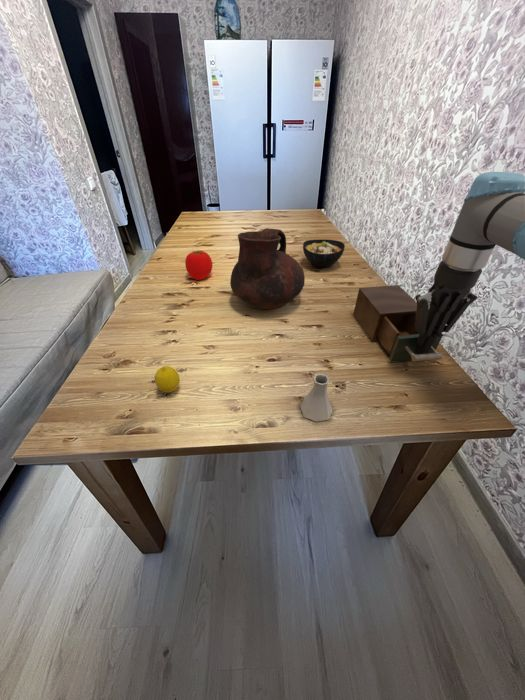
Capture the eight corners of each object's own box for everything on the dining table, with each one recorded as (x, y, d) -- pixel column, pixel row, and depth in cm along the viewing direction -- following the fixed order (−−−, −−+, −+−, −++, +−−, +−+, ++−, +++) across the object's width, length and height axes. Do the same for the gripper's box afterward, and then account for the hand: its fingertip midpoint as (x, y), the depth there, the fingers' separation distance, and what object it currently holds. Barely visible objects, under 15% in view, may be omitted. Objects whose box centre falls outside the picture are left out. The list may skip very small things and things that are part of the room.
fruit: (173, 378, 73) (166, 355, 68) (187, 389, 70) (180, 365, 65) (154, 391, 70) (145, 368, 64) (168, 402, 67) (160, 379, 62)
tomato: (183, 281, 114) (177, 255, 107) (194, 270, 122) (189, 245, 115) (207, 284, 112) (203, 257, 105) (217, 272, 120) (213, 247, 113)
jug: (315, 296, 104) (323, 224, 88) (276, 329, 88) (278, 250, 72) (260, 278, 115) (258, 212, 99) (217, 305, 100) (208, 232, 84)
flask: (300, 395, 68) (304, 365, 61) (331, 398, 67) (338, 368, 61) (299, 420, 62) (303, 390, 56) (333, 424, 62) (340, 393, 55)
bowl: (303, 256, 132) (305, 234, 125) (341, 258, 129) (344, 236, 123) (299, 272, 119) (301, 248, 113) (341, 275, 116) (345, 251, 110)
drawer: (443, 371, 72) (456, 347, 67) (399, 375, 71) (410, 352, 66) (405, 328, 86) (414, 306, 81) (369, 331, 85) (375, 309, 80)
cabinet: (413, 338, 84) (424, 310, 78) (371, 342, 83) (380, 313, 77) (389, 311, 95) (398, 284, 89) (353, 314, 94) (359, 287, 88)
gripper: (478, 254, 60) (435, 342, 75) (420, 258, 58) (388, 346, 74) (506, 270, 54) (453, 361, 69) (442, 274, 53) (403, 366, 68)
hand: (420, 353), depth 71 cm, fingers closed
